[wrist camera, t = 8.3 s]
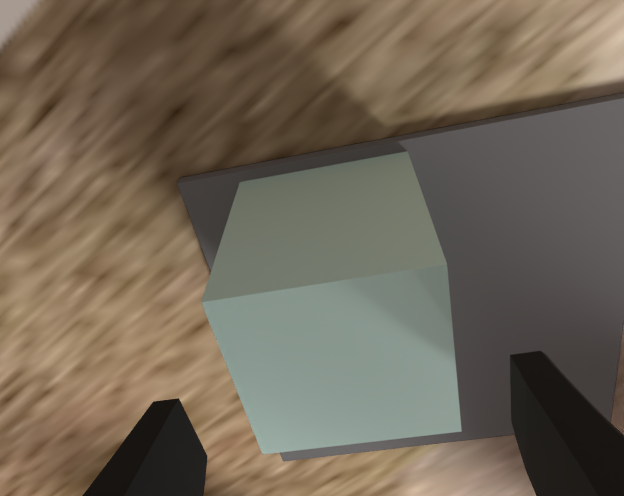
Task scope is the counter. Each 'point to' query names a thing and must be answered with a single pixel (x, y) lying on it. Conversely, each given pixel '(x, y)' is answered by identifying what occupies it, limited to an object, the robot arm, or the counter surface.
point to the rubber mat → (498, 247)
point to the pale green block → (336, 307)
